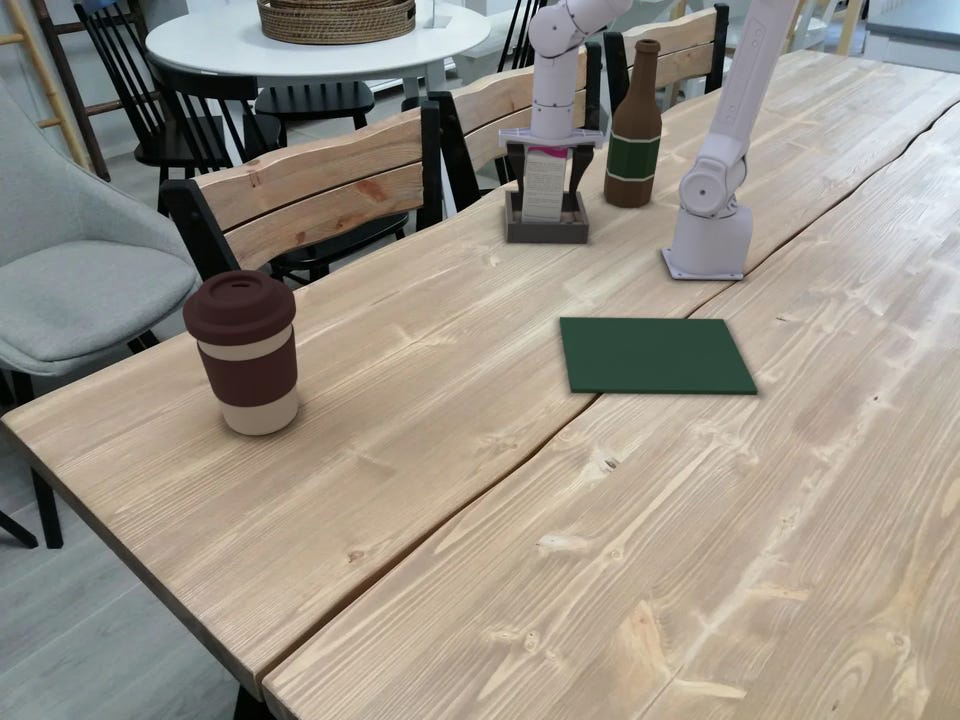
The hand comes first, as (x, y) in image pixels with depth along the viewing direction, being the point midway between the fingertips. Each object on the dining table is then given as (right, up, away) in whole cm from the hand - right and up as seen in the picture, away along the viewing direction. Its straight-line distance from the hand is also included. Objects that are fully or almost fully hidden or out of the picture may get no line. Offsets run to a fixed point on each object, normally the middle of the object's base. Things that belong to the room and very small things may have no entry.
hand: (546, 194), depth 108 cm
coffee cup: (-32, -30, -33) cm, 55 cm away
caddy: (0, -4, +3) cm, 5 cm away
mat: (+10, -24, -23) cm, 35 cm away
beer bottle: (+14, +2, +11) cm, 18 cm away
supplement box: (0, -4, +3) cm, 5 cm away
